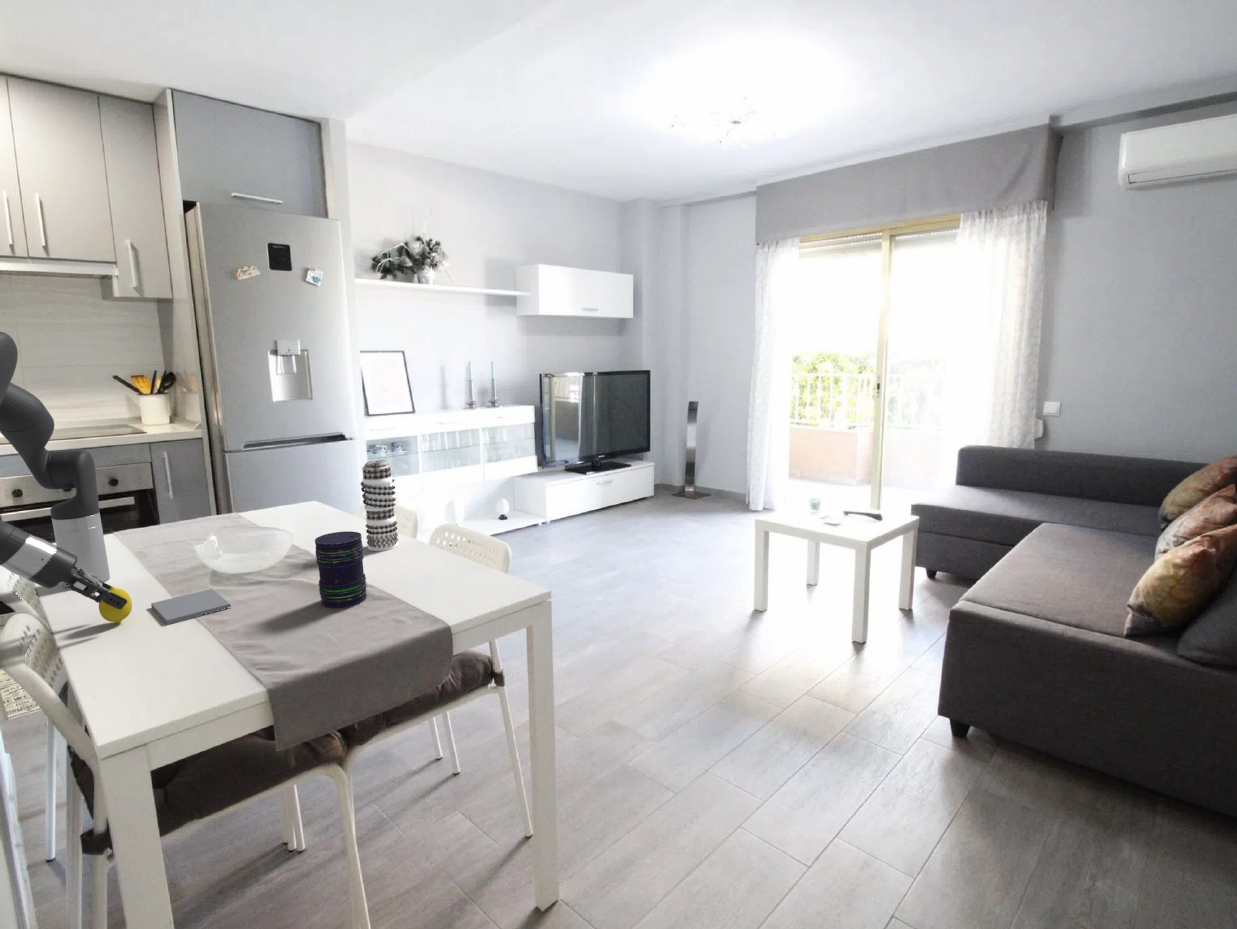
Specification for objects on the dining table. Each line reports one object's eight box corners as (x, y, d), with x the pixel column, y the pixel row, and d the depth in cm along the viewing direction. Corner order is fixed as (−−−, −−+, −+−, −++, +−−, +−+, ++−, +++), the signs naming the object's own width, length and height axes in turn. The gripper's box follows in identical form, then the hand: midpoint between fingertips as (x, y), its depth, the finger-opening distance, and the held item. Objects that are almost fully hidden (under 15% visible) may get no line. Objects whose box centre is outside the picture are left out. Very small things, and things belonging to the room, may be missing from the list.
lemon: (96, 630, 136) (90, 593, 134) (109, 620, 141) (103, 584, 139) (128, 626, 137) (122, 590, 136) (138, 616, 142) (133, 581, 141)
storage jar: (317, 611, 144) (310, 545, 141) (324, 595, 153) (318, 533, 150) (365, 606, 146) (359, 541, 144) (369, 590, 155) (364, 529, 153)
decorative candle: (367, 543, 193) (359, 460, 189) (400, 540, 196) (393, 458, 192) (365, 552, 185) (357, 465, 180) (399, 549, 188) (392, 463, 183)
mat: (151, 607, 147) (151, 603, 147) (212, 592, 156) (211, 588, 156) (167, 624, 138) (166, 620, 138) (230, 608, 146) (230, 603, 146)
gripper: (59, 552, 125) (141, 592, 135) (50, 538, 135) (126, 577, 145) (27, 586, 122) (113, 625, 132) (20, 569, 132) (100, 606, 142)
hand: (120, 599), depth 139 cm, fingers open, 8 cm apart
